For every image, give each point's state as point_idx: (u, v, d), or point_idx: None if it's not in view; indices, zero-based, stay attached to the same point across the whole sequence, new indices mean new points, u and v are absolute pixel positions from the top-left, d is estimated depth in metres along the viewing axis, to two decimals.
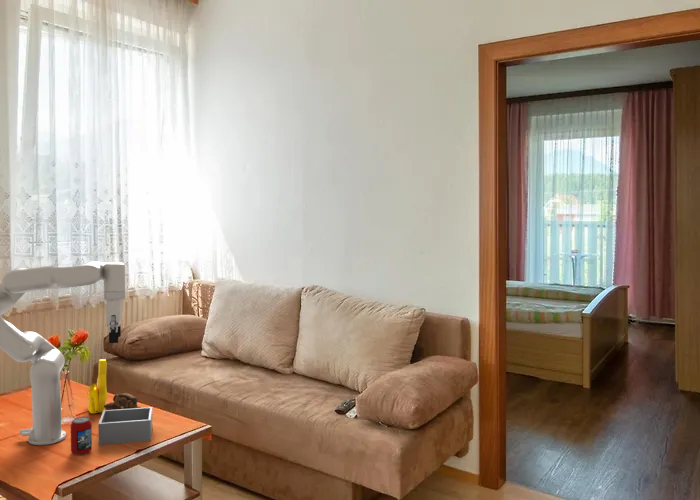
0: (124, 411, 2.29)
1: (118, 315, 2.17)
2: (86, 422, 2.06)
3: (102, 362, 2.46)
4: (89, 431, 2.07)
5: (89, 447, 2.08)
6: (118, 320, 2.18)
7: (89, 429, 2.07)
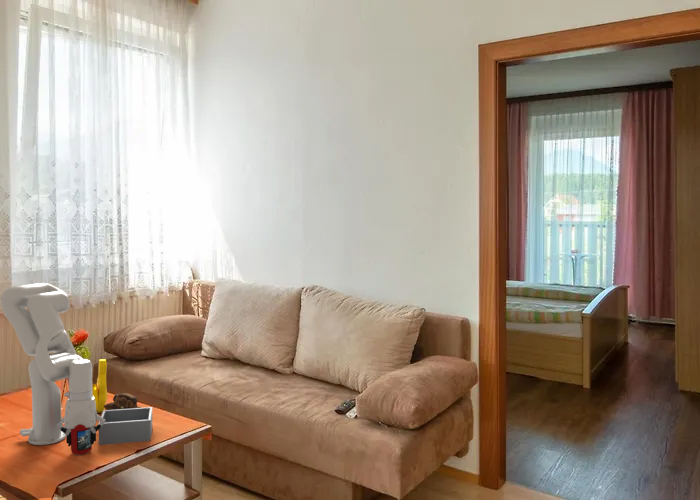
0: (124, 411, 2.29)
1: None
2: None
3: (102, 362, 2.46)
4: (89, 431, 2.07)
5: (89, 447, 2.08)
6: None
7: (90, 429, 2.07)
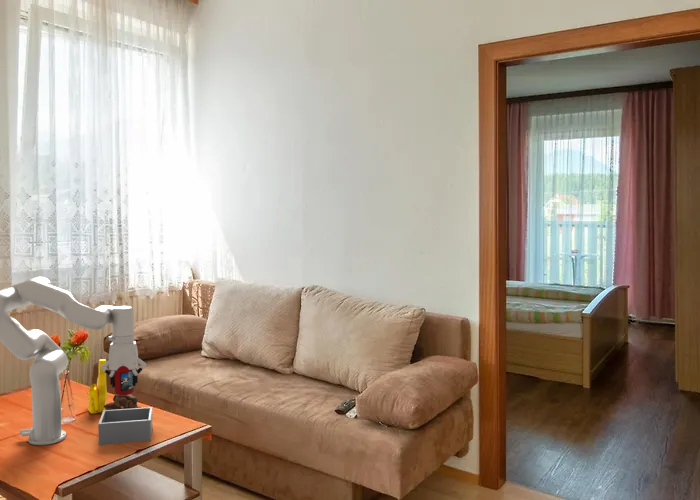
0: (124, 411, 2.29)
1: None
2: None
3: (102, 362, 2.46)
4: (131, 373, 2.20)
5: (131, 388, 2.20)
6: None
7: (132, 372, 2.20)
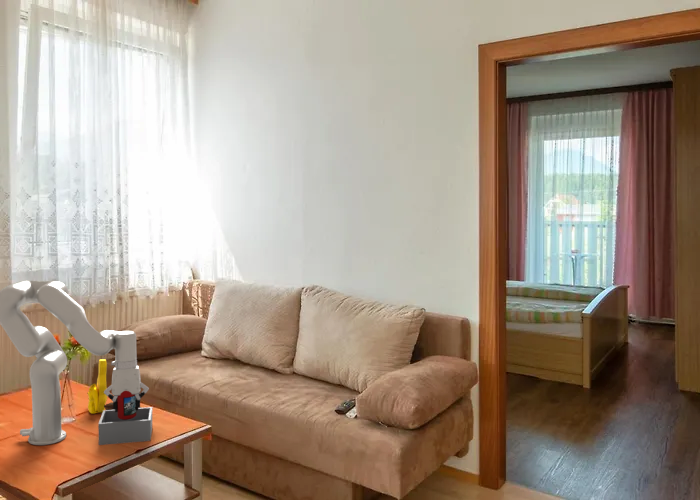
0: None
1: None
2: None
3: (102, 362, 2.46)
4: (134, 398, 2.22)
5: (134, 413, 2.22)
6: None
7: (134, 396, 2.22)
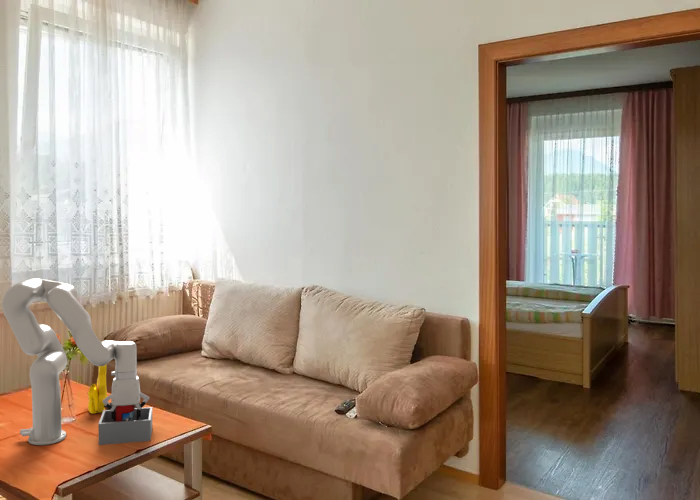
0: None
1: None
2: (130, 405, 2.21)
3: None
4: (132, 413, 2.22)
5: None
6: None
7: (133, 411, 2.22)
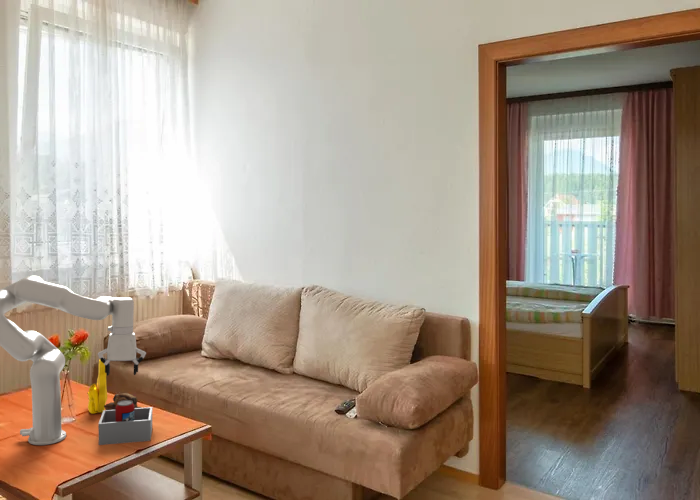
0: None
1: None
2: (130, 405, 2.21)
3: (102, 362, 2.46)
4: (132, 413, 2.22)
5: None
6: None
7: (133, 412, 2.22)
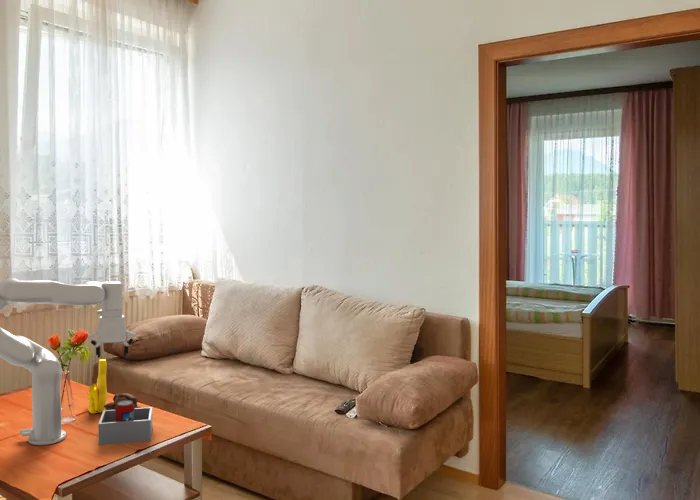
0: None
1: None
2: (130, 405, 2.21)
3: (102, 362, 2.46)
4: (132, 413, 2.22)
5: None
6: None
7: (133, 411, 2.22)
